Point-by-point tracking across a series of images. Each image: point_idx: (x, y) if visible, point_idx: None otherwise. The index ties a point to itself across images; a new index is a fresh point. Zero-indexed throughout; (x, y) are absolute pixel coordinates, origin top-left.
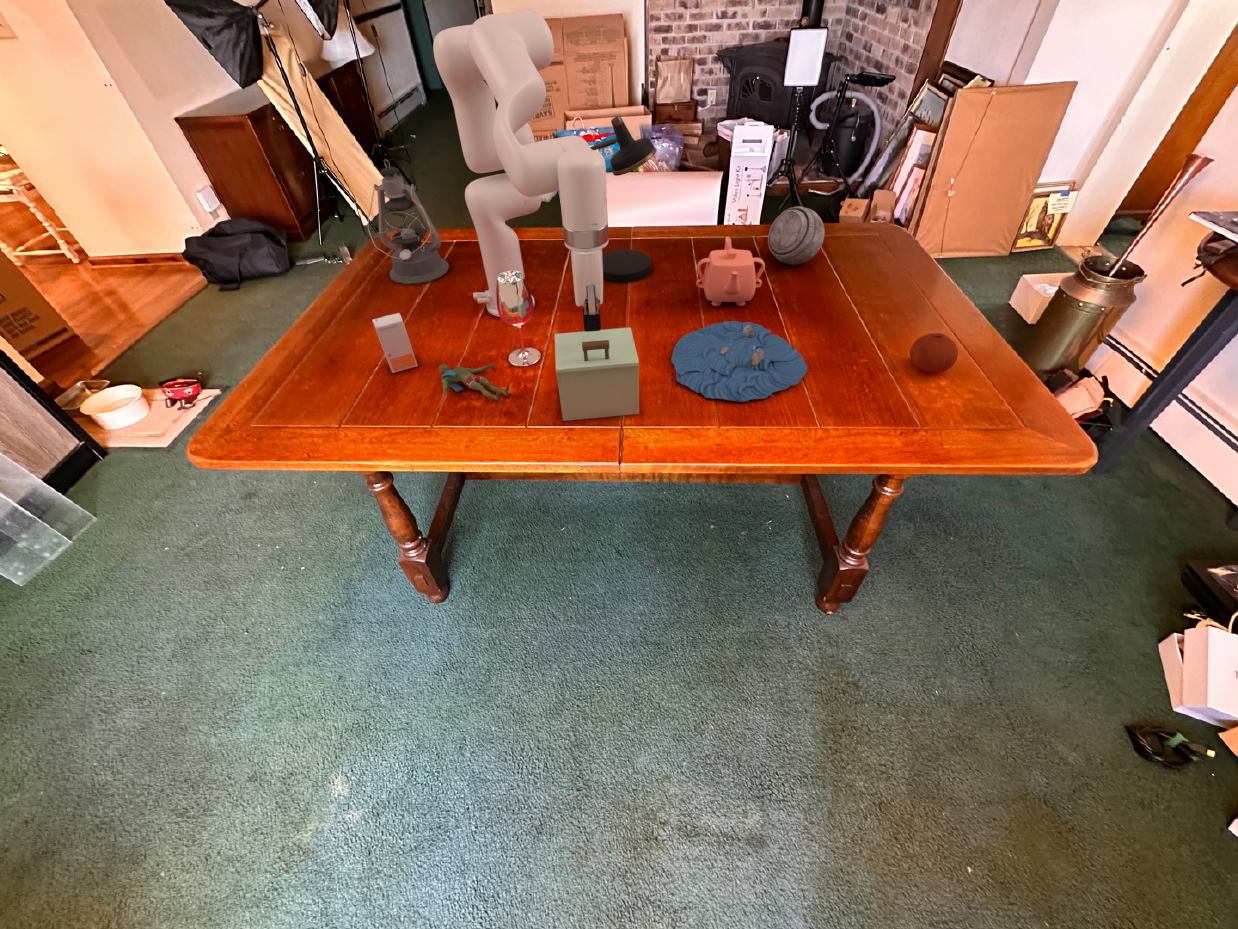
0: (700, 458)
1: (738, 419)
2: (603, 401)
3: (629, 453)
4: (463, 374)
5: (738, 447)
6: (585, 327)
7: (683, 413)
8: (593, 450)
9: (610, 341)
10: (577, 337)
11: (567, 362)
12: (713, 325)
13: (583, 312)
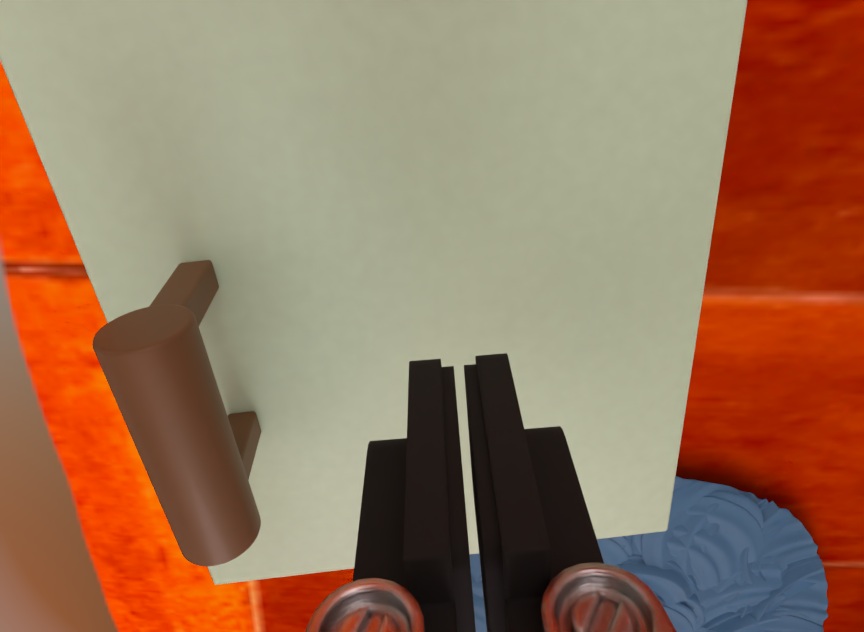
0: (82, 511)
1: (293, 605)
2: None
3: (46, 303)
4: None
5: (159, 596)
6: (409, 400)
7: None
8: (22, 152)
9: None
10: (612, 173)
11: (135, 101)
12: (818, 607)
13: (428, 564)
